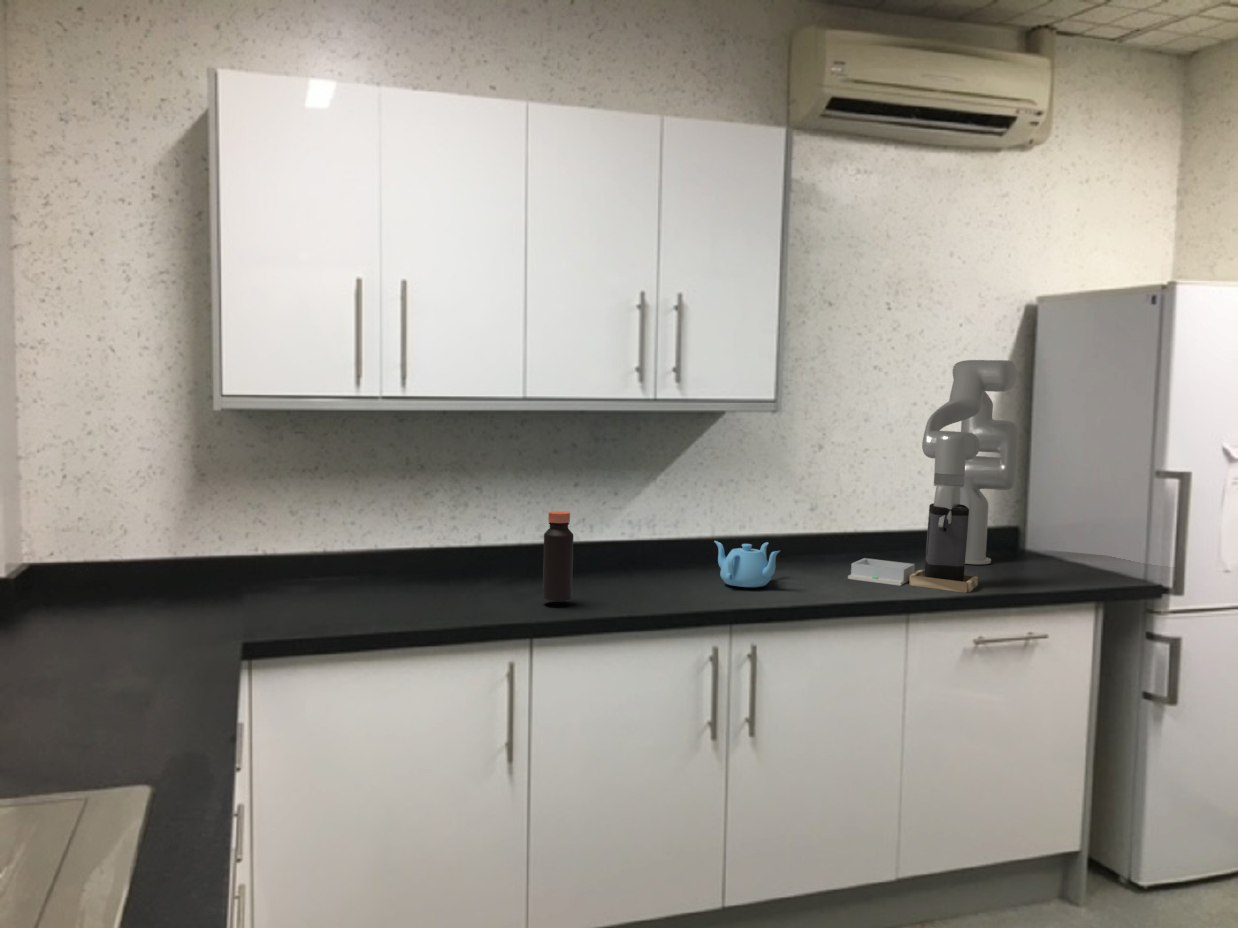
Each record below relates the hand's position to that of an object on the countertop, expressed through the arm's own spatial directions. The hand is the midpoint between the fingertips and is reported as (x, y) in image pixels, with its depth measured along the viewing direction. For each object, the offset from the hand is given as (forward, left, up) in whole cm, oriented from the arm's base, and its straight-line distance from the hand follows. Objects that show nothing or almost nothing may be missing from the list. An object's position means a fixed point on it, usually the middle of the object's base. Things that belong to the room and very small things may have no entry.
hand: (945, 549), depth 242 cm
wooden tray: (0, 0, -9) cm, 9 cm away
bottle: (+77, -69, -10) cm, 104 cm away
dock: (0, -16, -10) cm, 19 cm away
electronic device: (+1, 0, -8) cm, 8 cm away
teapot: (+31, -42, -10) cm, 53 cm away
